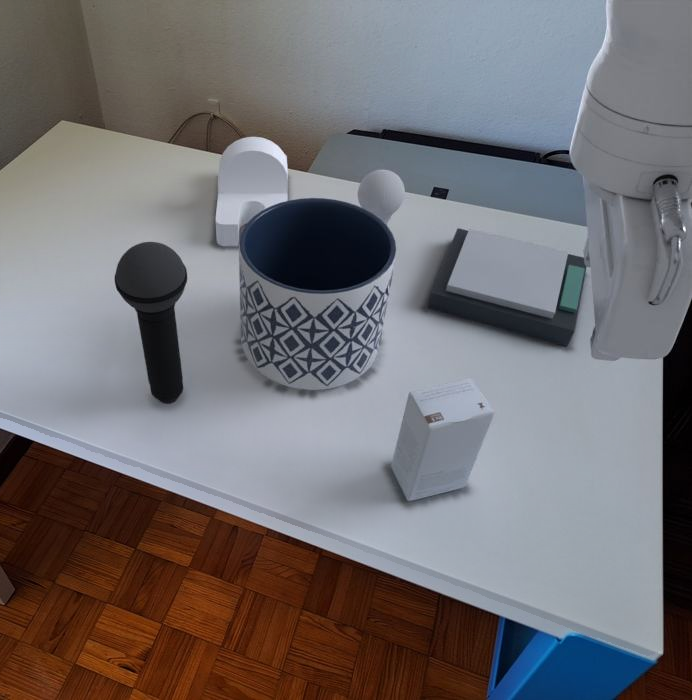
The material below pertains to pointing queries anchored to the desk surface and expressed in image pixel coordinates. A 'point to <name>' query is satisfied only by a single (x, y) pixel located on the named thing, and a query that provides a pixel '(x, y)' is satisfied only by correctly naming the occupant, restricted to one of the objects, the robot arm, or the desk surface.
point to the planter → (314, 291)
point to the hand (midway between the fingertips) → (599, 304)
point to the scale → (511, 285)
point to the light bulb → (381, 193)
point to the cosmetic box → (440, 438)
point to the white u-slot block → (248, 184)
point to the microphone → (155, 311)
